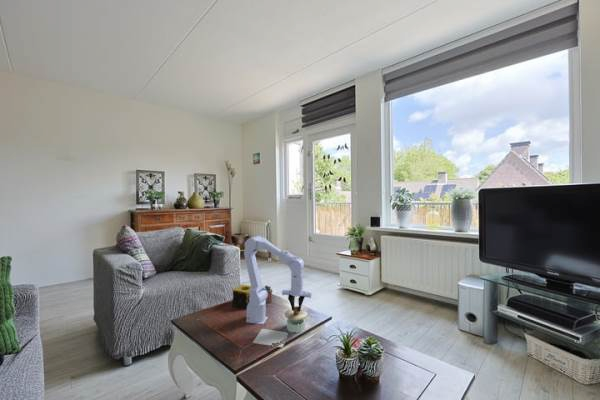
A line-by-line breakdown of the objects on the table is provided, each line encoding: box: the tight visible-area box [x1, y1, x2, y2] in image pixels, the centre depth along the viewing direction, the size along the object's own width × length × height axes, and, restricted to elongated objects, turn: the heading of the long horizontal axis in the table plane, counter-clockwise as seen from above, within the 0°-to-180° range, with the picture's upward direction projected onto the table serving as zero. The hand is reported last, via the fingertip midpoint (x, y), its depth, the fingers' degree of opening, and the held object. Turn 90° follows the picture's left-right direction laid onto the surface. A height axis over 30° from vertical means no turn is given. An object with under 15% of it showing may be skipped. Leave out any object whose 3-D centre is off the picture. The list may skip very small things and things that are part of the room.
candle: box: [231, 284, 251, 310], centre depth 157 cm, size 10×10×10 cm
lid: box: [284, 306, 308, 320], centre depth 132 cm, size 11×11×4 cm
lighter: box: [264, 285, 273, 304], centre depth 162 cm, size 8×3×10 cm, turn 84°
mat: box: [252, 328, 289, 348], centre depth 124 cm, size 14×12×1 cm
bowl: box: [286, 318, 306, 334], centre depth 132 cm, size 9×9×4 cm
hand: (296, 310), depth 132 cm, fingers closed on lid, 3 cm apart
